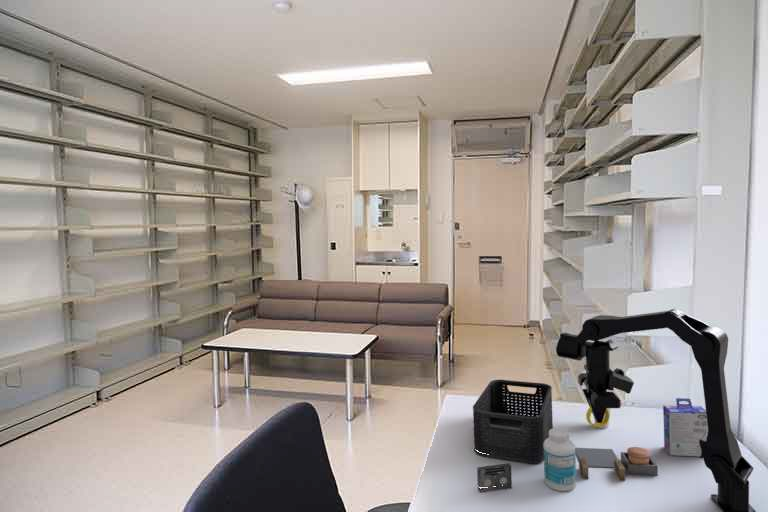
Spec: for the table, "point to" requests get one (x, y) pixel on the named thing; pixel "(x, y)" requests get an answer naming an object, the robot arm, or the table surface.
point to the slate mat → (597, 457)
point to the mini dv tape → (494, 477)
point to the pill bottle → (559, 460)
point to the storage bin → (513, 421)
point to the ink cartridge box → (684, 428)
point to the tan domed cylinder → (638, 455)
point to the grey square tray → (639, 466)
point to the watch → (598, 423)
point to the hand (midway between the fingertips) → (598, 420)
